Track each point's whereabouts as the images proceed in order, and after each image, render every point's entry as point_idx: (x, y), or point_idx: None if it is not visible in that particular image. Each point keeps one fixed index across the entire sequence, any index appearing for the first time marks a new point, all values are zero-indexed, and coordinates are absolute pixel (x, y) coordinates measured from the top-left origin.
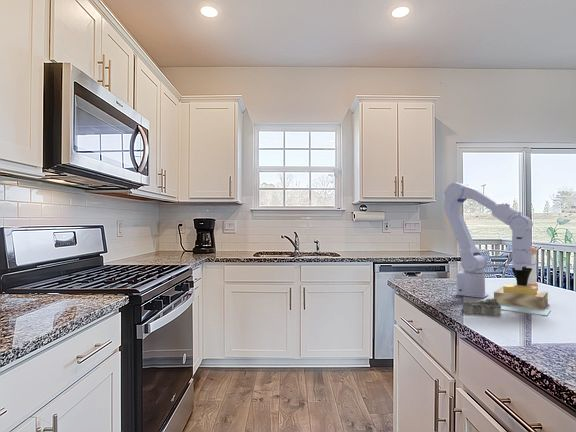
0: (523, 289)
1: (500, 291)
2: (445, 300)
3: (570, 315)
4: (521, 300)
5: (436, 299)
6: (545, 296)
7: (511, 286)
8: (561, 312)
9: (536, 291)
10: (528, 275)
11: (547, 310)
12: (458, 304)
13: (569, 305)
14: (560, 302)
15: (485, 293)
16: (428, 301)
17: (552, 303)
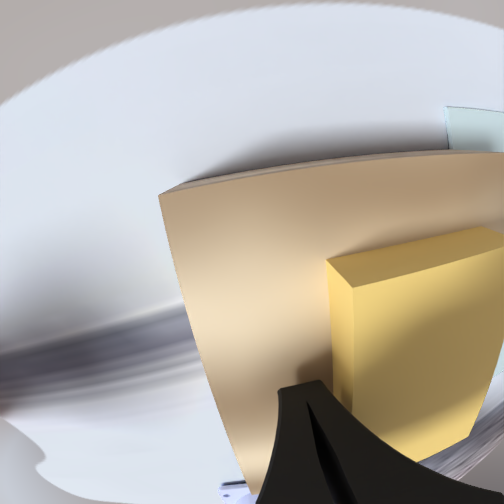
0: (501, 322)
1: None
2: (442, 468)
3: (458, 20)
4: None
5: None
6: (354, 160)
7: (455, 418)
8: (433, 53)
9: (380, 256)
10: (383, 495)
11: (470, 121)
12: (487, 420)
13: (128, 51)
14: (56, 139)
15: (223, 495)
16: (470, 465)
17: (142, 160)
